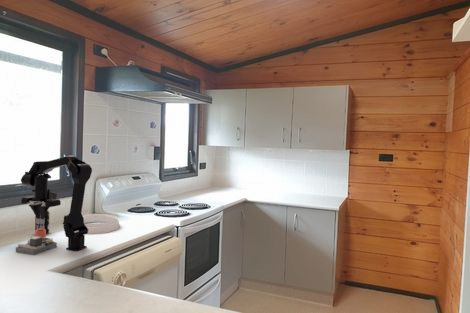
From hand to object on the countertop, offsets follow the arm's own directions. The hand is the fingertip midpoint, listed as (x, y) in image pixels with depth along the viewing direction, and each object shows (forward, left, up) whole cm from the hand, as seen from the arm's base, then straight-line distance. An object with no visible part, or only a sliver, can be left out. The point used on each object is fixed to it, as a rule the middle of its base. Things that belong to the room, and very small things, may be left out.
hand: (40, 219), depth 175 cm
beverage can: (+11, -12, -11) cm, 20 cm away
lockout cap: (0, 0, -11) cm, 11 cm away
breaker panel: (-8, +10, -11) cm, 17 cm away
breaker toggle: (-11, +13, -9) cm, 19 cm away
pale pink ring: (-5, -33, -12) cm, 35 cm away
